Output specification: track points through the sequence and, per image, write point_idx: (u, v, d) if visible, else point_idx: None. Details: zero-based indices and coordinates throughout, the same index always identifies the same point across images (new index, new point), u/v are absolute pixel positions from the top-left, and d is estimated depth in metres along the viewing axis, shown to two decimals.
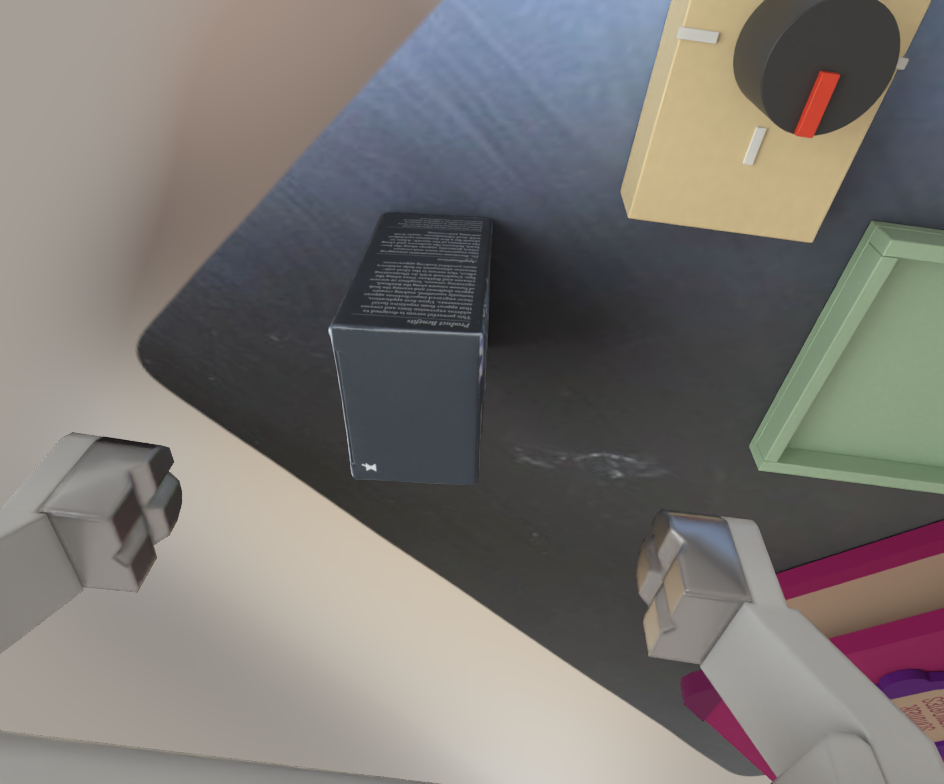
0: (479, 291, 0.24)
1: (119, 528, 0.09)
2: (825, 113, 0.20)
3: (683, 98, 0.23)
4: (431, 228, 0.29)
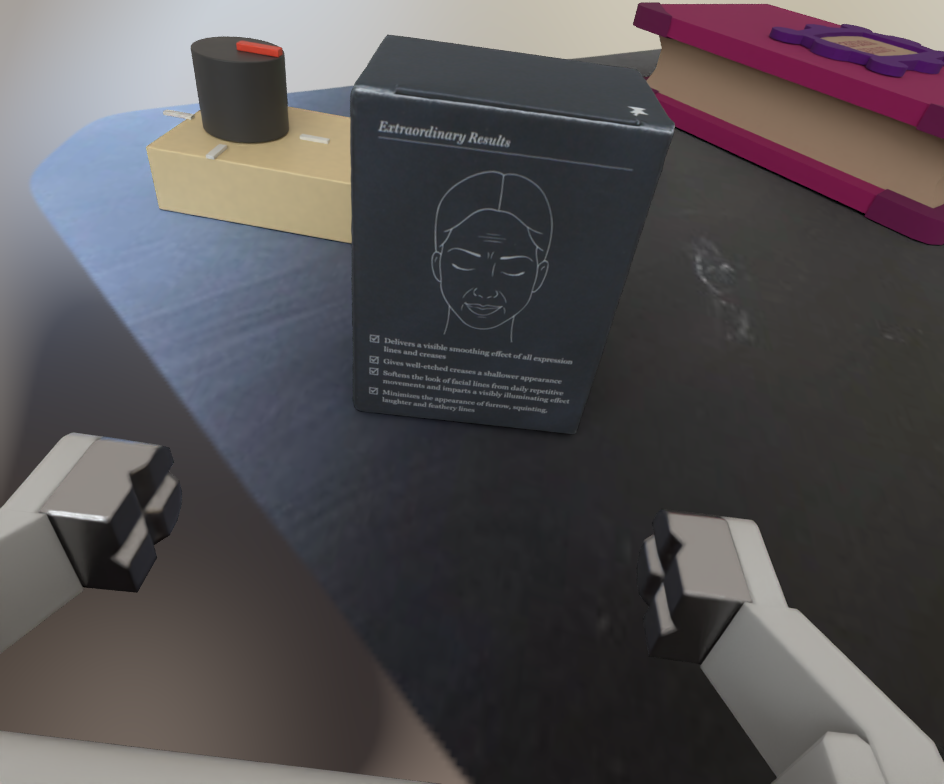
0: None
1: (118, 529, 0.09)
2: None
3: (264, 160, 0.28)
4: None
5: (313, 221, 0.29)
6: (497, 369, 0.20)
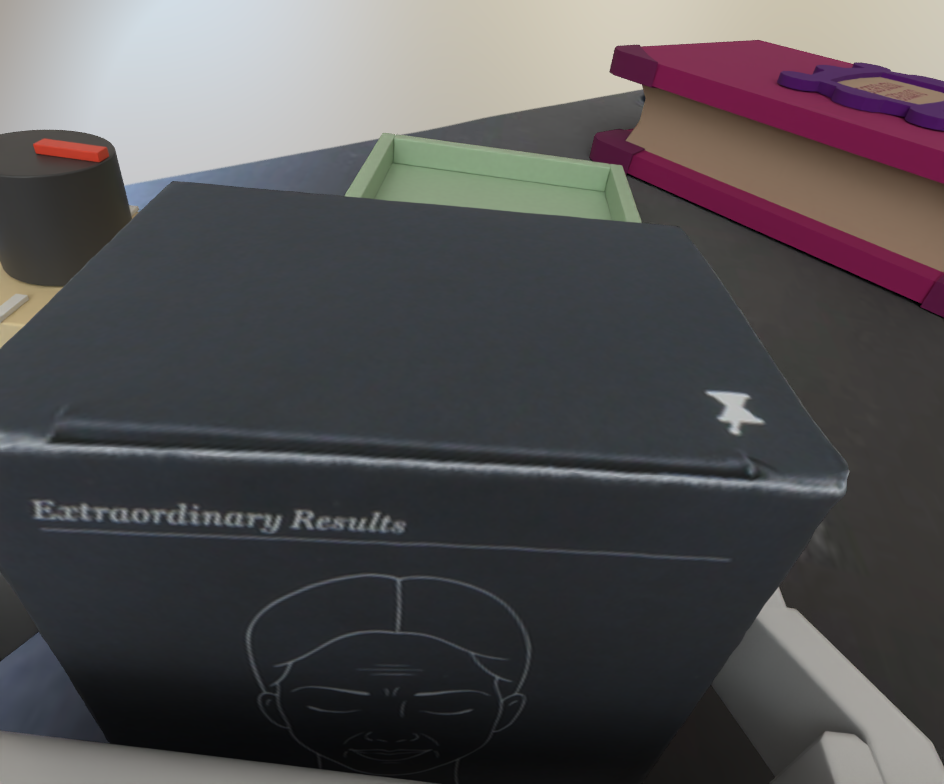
0: None
1: None
2: None
3: None
4: None
5: None
6: None
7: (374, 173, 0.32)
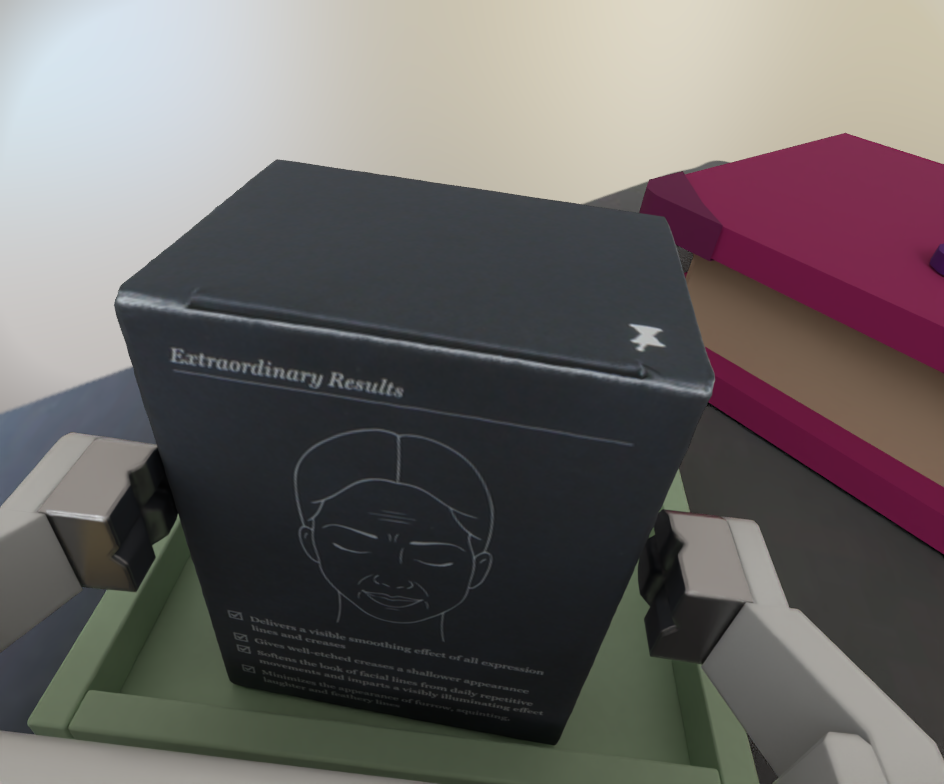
0: None
1: (117, 529, 0.09)
2: None
3: None
4: None
5: None
6: (425, 668, 0.12)
7: None
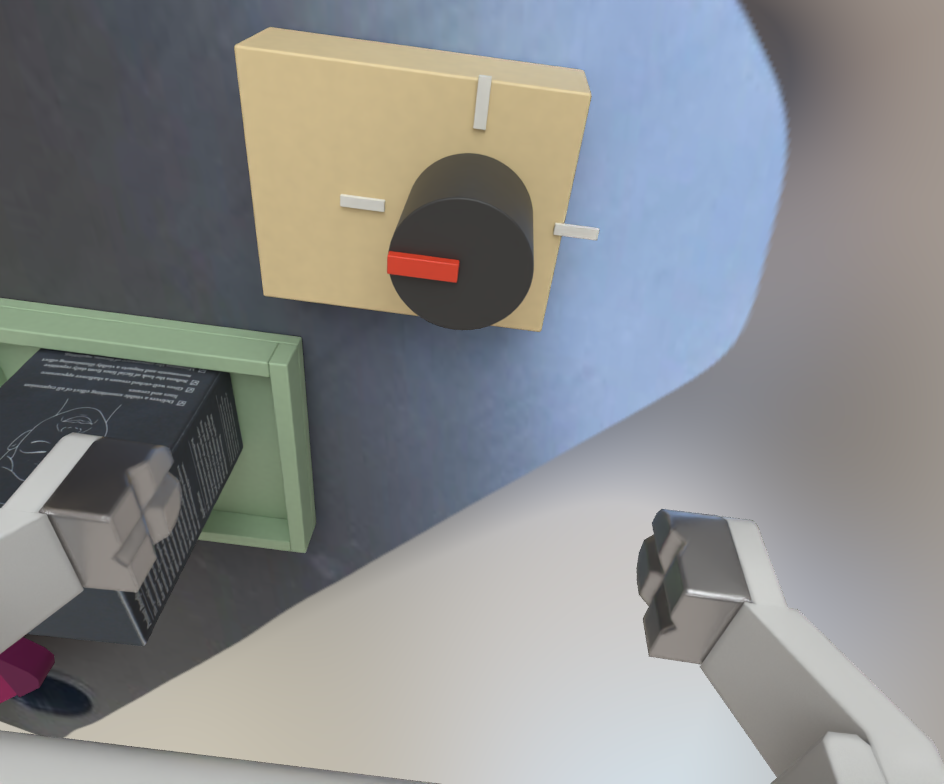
0: (180, 572, 0.25)
1: (119, 529, 0.09)
2: (414, 278, 0.17)
3: (408, 99, 0.18)
4: (224, 429, 0.27)
5: (340, 41, 0.19)
6: (90, 381, 0.25)
7: (281, 465, 0.29)
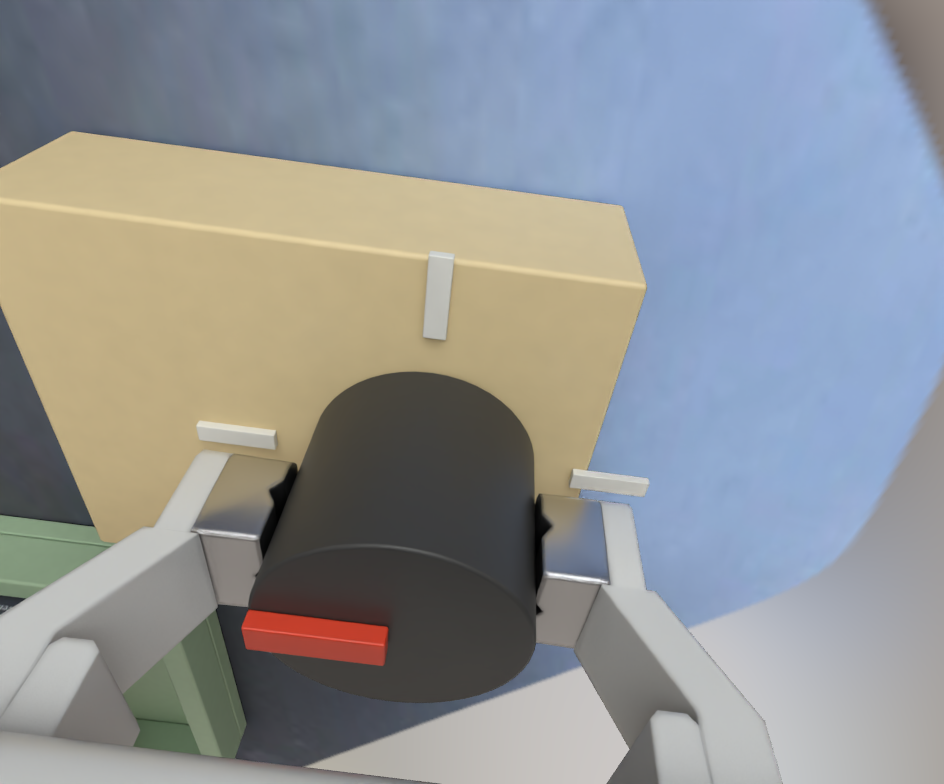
0: None
1: (264, 547, 0.09)
2: None
3: (298, 287, 0.09)
4: None
5: (188, 163, 0.10)
6: None
7: (179, 698, 0.21)
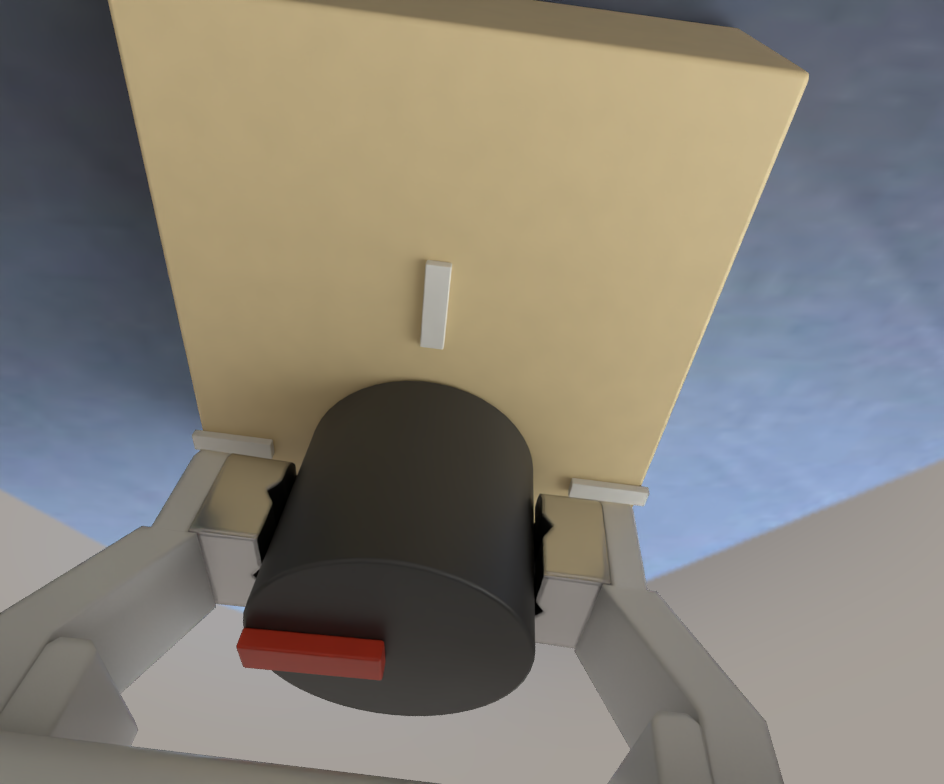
0: None
1: (262, 547, 0.09)
2: None
3: (627, 398, 0.10)
4: None
5: None
6: None
7: None
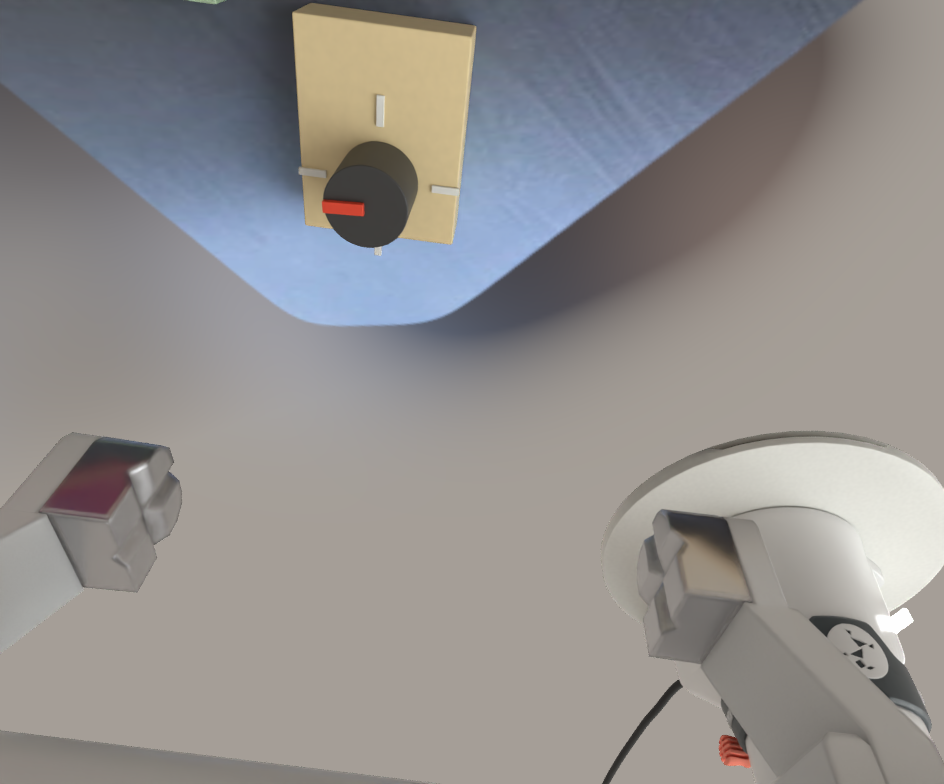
0: None
1: (119, 528, 0.09)
2: (340, 215, 0.29)
3: (445, 147, 0.30)
4: None
5: (469, 85, 0.31)
6: None
7: None
